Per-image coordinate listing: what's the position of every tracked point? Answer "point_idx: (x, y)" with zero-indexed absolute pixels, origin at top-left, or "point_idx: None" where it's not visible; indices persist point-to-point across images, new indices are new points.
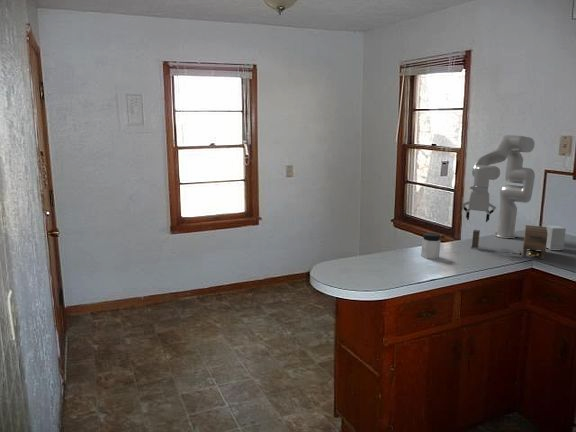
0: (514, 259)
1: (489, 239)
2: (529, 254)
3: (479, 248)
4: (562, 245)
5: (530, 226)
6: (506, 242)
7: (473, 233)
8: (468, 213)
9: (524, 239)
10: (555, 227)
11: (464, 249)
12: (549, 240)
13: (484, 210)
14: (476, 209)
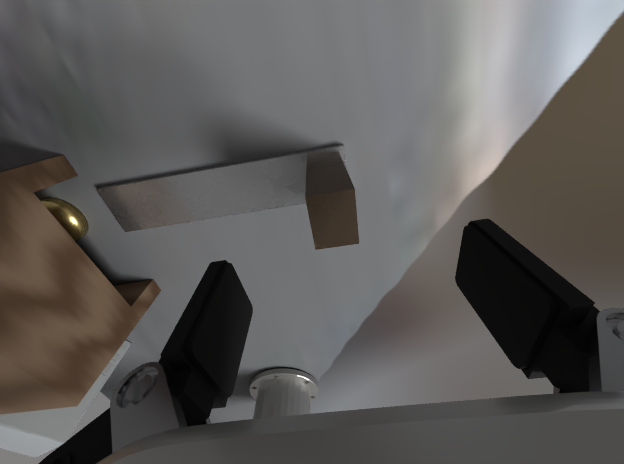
0: (38, 49)
1: (314, 337)
2: (63, 205)
3: (294, 154)
4: None
5: (27, 392)
6: (251, 333)
7: (348, 182)
8: (560, 295)
9: (72, 283)
10: (2, 436)
11: (370, 92)
12: None
13: (152, 455)
14: (446, 445)
